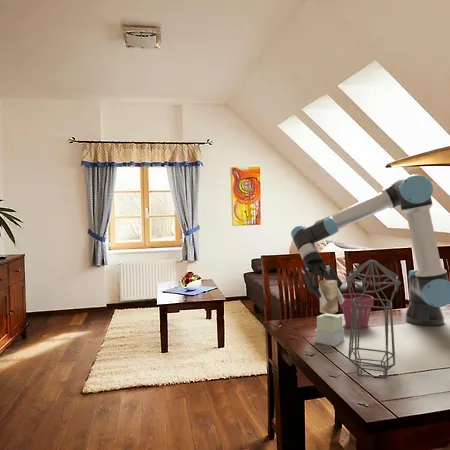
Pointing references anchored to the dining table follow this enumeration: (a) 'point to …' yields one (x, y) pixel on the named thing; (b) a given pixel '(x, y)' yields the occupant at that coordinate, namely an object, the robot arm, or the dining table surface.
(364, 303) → the plant pot
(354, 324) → the geometric lantern
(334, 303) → the pillar
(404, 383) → the dining table surface
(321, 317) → the tower top
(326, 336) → the tower base
